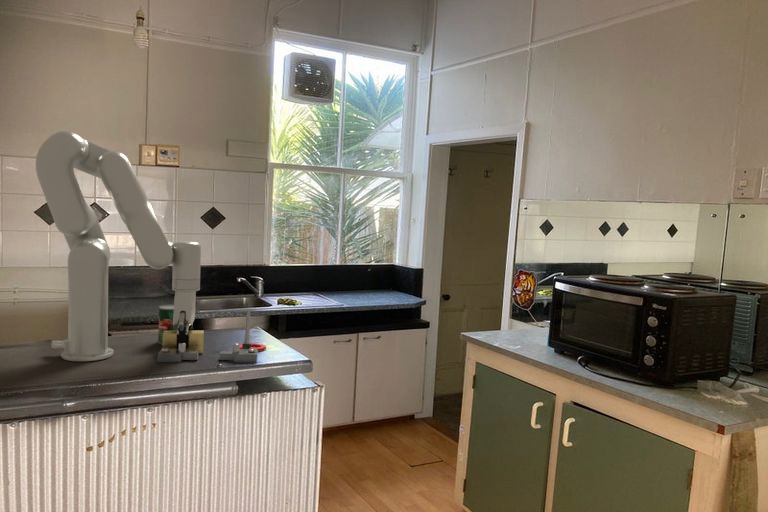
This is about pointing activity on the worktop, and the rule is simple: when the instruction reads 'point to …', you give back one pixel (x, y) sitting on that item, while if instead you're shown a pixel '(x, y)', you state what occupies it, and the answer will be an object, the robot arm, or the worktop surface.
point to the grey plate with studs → (182, 354)
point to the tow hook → (247, 337)
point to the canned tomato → (166, 321)
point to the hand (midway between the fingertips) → (184, 344)
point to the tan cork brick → (194, 340)
